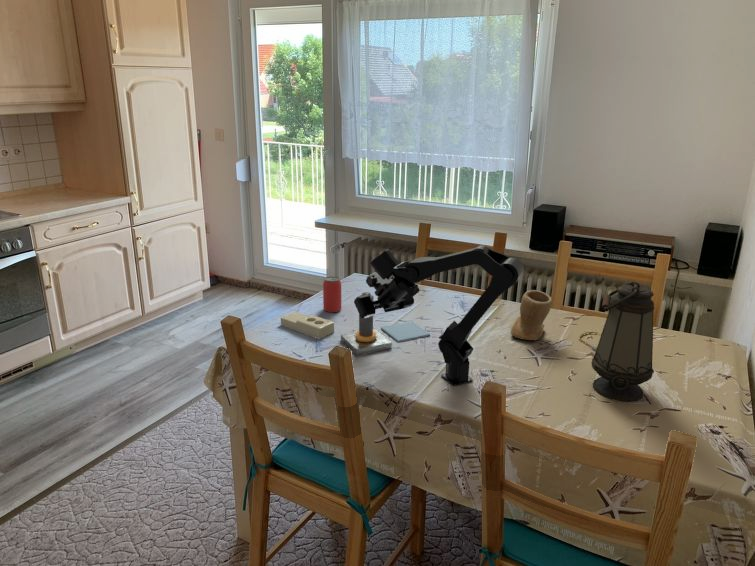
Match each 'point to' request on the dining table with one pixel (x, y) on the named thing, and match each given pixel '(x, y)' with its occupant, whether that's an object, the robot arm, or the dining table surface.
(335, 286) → the beer can
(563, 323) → the dining table surface
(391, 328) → the mat
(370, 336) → the plug
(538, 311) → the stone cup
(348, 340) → the socket block
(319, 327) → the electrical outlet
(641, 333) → the lantern
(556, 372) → the dining table surface
